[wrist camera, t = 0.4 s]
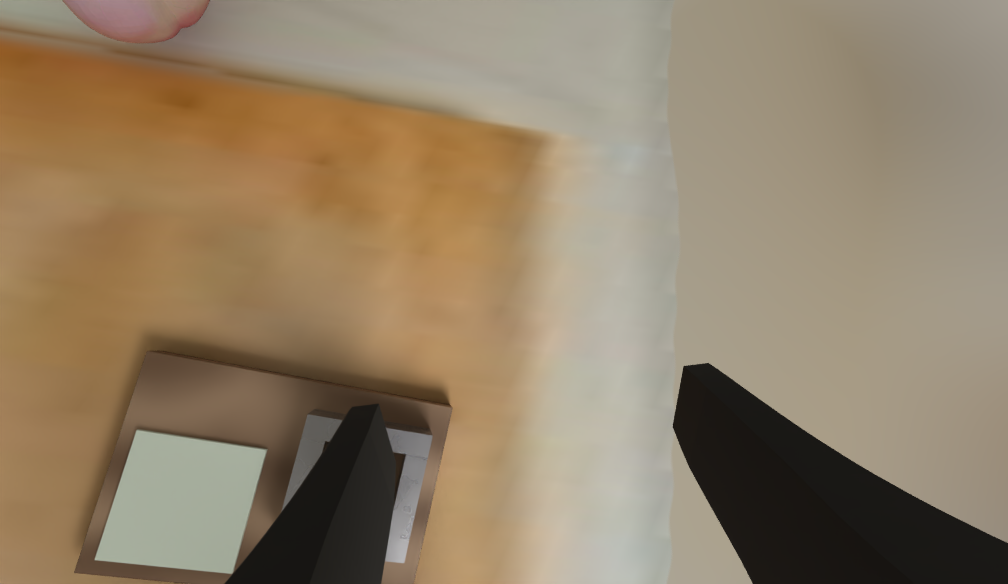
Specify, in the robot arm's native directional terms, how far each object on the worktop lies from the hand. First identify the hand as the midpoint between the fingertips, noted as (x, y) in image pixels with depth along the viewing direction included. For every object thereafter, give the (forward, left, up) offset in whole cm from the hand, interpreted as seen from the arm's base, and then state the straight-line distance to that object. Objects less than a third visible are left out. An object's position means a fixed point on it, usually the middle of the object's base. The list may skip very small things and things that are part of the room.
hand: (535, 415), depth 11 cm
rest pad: (-12, +14, -24) cm, 31 cm away
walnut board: (-10, +9, -26) cm, 29 cm away
